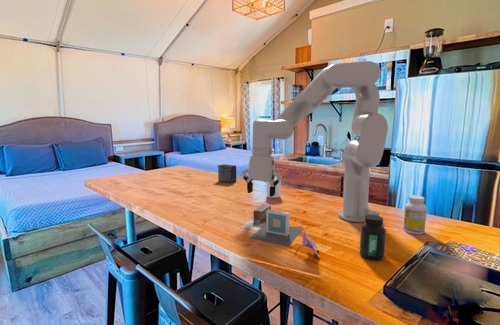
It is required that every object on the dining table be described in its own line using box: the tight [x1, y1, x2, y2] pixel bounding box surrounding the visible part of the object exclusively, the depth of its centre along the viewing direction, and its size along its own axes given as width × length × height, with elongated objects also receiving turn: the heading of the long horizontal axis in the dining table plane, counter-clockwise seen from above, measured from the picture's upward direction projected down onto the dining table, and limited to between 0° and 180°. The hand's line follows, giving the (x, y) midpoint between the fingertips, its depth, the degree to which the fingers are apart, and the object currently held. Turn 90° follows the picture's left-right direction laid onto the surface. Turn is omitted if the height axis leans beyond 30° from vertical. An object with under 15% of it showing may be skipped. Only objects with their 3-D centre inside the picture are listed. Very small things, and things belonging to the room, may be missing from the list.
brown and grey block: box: [240, 203, 272, 232], centre depth 111 cm, size 7×17×5 cm, turn 153°
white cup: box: [265, 176, 282, 199], centre depth 147 cm, size 8×8×10 cm
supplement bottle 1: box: [359, 215, 387, 262], centre depth 84 cm, size 7×7×12 cm
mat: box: [249, 224, 303, 247], centre depth 100 cm, size 14×16×1 cm
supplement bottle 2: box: [403, 194, 428, 236], centre depth 101 cm, size 7×7×13 cm
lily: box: [294, 221, 321, 259], centre depth 85 cm, size 12×12×10 cm
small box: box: [217, 163, 237, 184], centre depth 182 cm, size 11×6×10 cm, turn 58°
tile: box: [265, 209, 290, 236], centre depth 100 cm, size 8×2×8 cm, turn 63°
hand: (260, 194), depth 113 cm, fingers open, 9 cm apart
